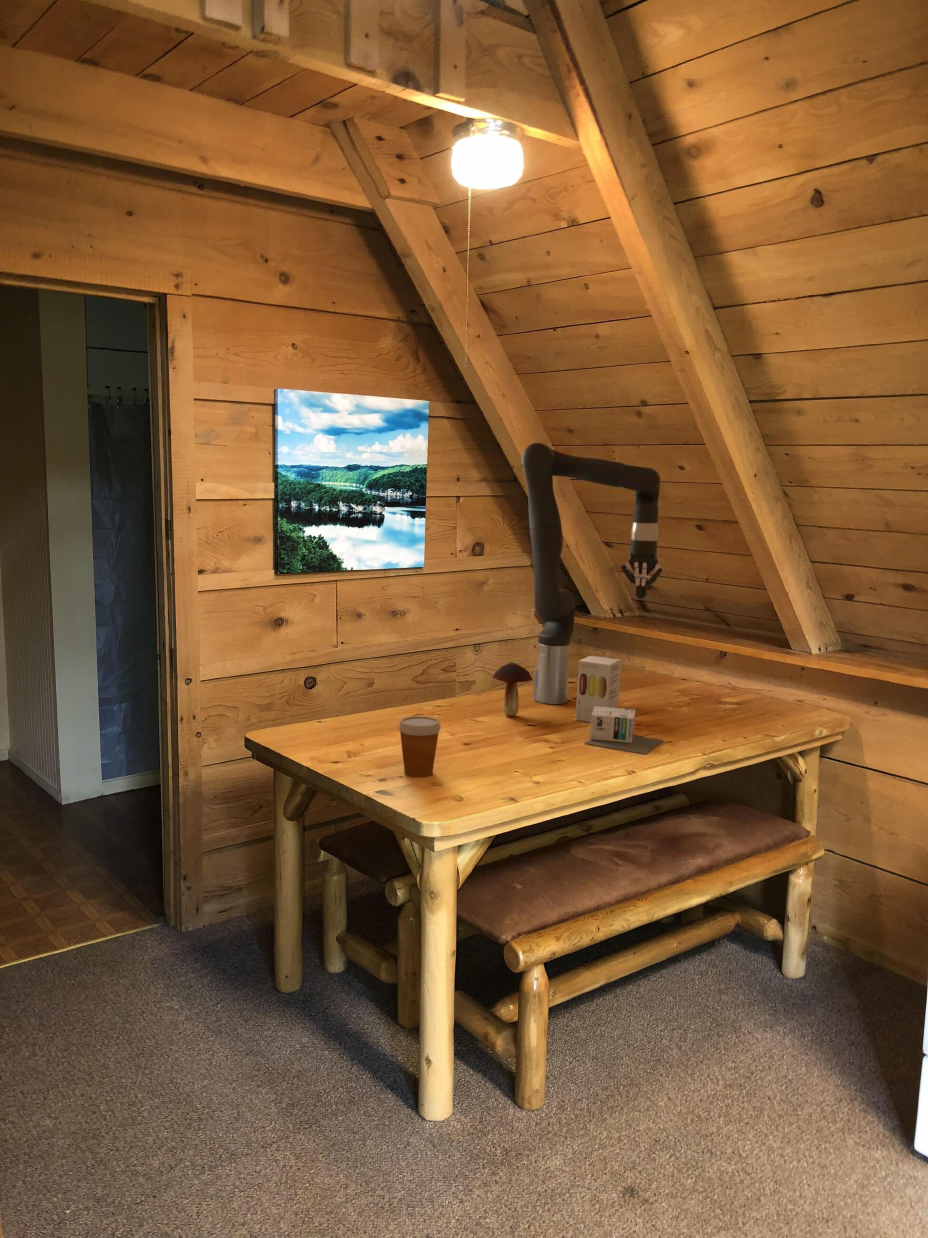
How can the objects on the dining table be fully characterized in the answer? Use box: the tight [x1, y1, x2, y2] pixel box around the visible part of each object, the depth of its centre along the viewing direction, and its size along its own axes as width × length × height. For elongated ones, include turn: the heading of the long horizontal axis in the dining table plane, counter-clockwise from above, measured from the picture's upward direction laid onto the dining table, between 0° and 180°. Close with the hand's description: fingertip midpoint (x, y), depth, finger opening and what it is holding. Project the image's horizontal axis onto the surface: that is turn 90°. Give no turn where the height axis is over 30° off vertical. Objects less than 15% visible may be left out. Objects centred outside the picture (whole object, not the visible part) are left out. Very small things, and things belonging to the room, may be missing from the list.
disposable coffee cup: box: [397, 715, 442, 778], centre depth 222 cm, size 10×10×12 cm
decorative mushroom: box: [491, 662, 533, 717], centre depth 274 cm, size 11×11×15 cm
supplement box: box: [575, 655, 622, 723], centre depth 273 cm, size 10×9×17 cm
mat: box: [584, 734, 665, 755], centre depth 252 cm, size 16×14×1 cm
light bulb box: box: [589, 706, 636, 743], centre depth 255 cm, size 11×7×11 cm
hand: (641, 598), depth 286 cm, fingers closed
